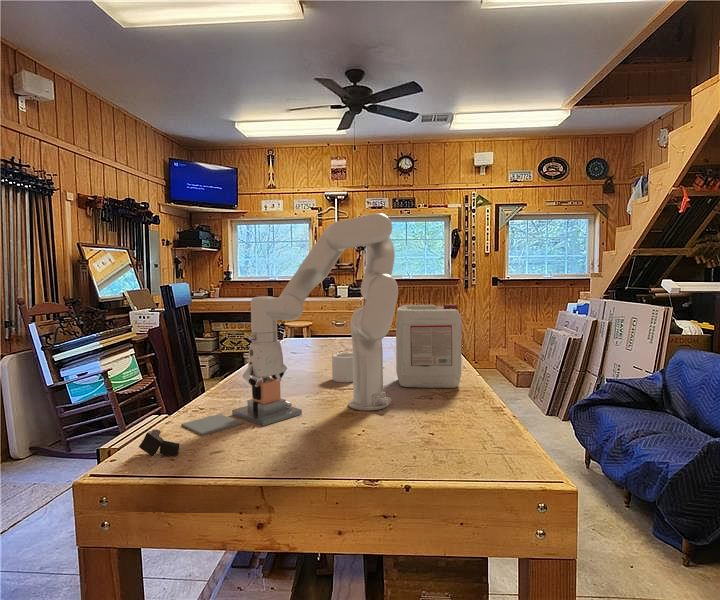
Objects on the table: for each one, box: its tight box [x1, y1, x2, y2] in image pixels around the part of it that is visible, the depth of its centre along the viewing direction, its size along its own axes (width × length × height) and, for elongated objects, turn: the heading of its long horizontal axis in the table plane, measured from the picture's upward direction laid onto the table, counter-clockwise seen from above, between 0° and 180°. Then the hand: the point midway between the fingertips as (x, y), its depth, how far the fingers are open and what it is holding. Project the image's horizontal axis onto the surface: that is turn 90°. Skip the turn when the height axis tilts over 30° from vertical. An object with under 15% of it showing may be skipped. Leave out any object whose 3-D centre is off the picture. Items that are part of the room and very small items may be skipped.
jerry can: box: [395, 303, 463, 389], centre depth 175 cm, size 24×19×30 cm
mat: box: [181, 413, 243, 437], centre depth 132 cm, size 12×12×1 cm
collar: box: [251, 377, 282, 404], centre depth 140 cm, size 6×6×6 cm
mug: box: [331, 352, 353, 383], centre depth 185 cm, size 14×11×10 cm
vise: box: [231, 376, 303, 427], centre depth 140 cm, size 16×14×12 cm
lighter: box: [138, 429, 180, 457], centre depth 111 cm, size 9×2×6 cm
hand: (266, 396), depth 140 cm, fingers closed on collar, 6 cm apart
